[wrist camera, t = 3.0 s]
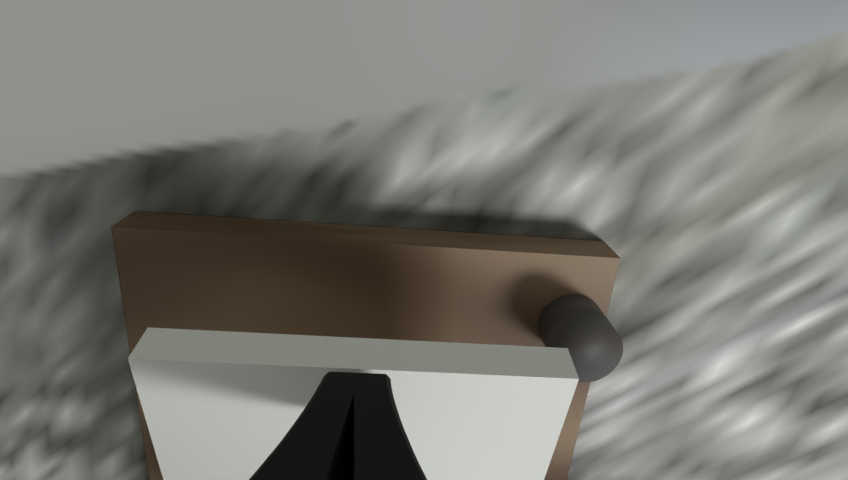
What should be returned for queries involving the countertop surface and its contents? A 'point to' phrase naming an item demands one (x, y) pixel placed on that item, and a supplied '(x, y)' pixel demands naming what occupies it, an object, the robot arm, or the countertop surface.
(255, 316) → the levelling stand
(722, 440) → the countertop surface
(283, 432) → the levelling deck
